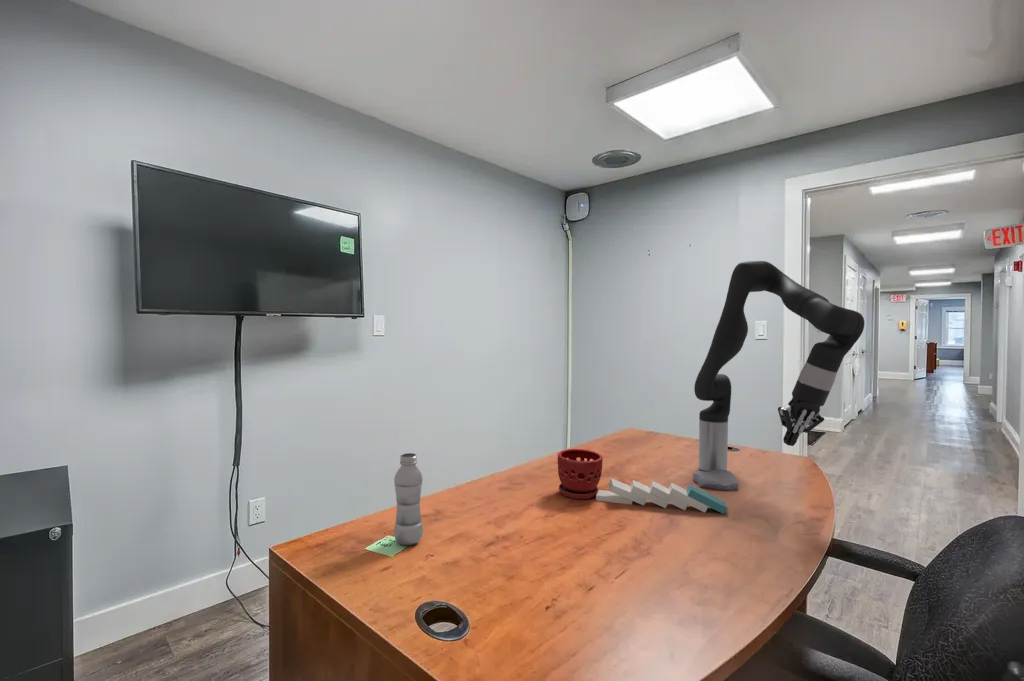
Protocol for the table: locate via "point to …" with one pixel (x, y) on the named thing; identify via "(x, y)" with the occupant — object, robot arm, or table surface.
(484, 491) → the table surface
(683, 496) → the domino
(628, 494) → the domino
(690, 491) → the domino
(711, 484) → the stone block
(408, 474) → the plastic bottle
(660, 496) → the domino
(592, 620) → the table surface
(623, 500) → the domino
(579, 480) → the plant pot
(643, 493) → the domino
